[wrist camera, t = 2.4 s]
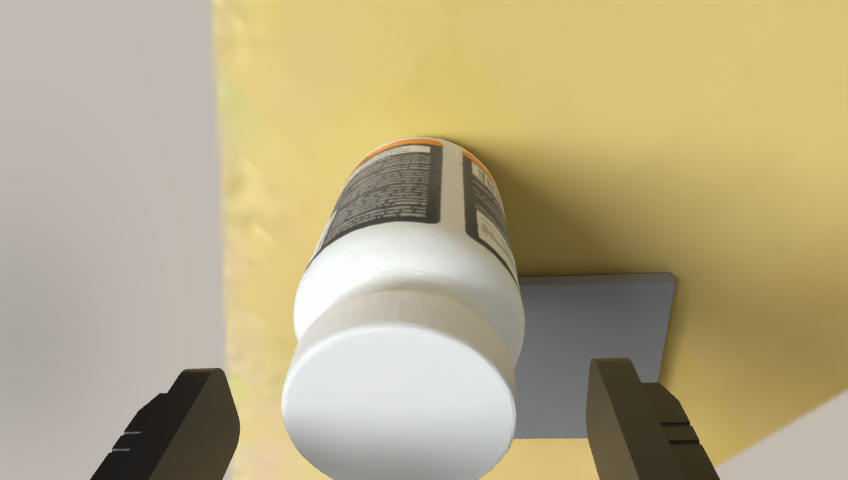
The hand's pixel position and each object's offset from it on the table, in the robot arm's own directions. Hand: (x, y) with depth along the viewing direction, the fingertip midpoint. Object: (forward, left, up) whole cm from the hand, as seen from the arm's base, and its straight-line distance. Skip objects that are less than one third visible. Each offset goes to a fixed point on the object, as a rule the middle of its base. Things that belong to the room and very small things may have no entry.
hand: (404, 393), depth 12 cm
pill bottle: (0, 0, -9) cm, 9 cm away
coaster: (+7, +5, -9) cm, 12 cm away
